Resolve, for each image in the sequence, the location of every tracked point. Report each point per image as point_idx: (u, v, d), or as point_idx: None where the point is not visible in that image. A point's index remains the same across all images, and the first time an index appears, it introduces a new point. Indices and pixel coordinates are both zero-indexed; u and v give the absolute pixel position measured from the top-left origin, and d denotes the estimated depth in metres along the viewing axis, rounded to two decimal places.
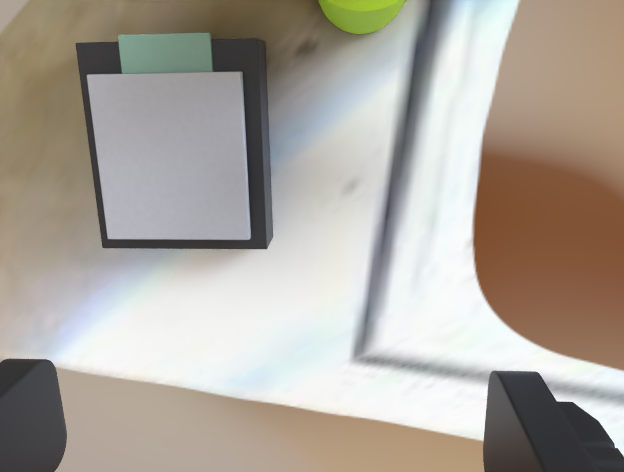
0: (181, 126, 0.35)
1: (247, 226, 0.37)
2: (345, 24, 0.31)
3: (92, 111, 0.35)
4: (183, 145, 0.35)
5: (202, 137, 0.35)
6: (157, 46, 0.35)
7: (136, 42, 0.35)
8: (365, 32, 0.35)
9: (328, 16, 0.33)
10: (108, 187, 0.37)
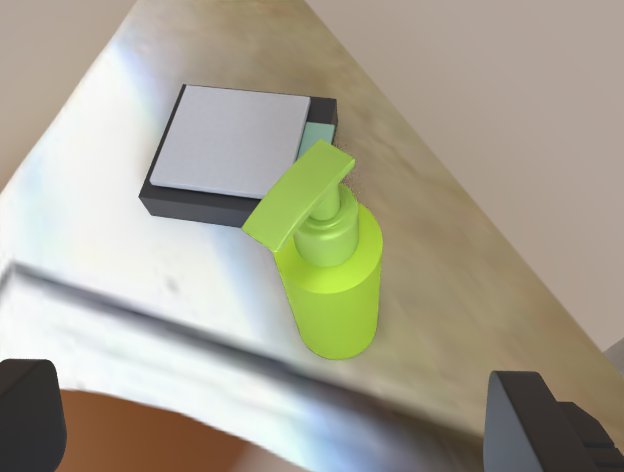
0: (254, 149, 0.43)
1: (160, 180, 0.43)
2: None
3: (283, 94, 0.46)
4: (240, 148, 0.43)
5: (242, 162, 0.43)
6: None
7: (326, 135, 0.44)
8: None
9: None
10: (225, 93, 0.46)
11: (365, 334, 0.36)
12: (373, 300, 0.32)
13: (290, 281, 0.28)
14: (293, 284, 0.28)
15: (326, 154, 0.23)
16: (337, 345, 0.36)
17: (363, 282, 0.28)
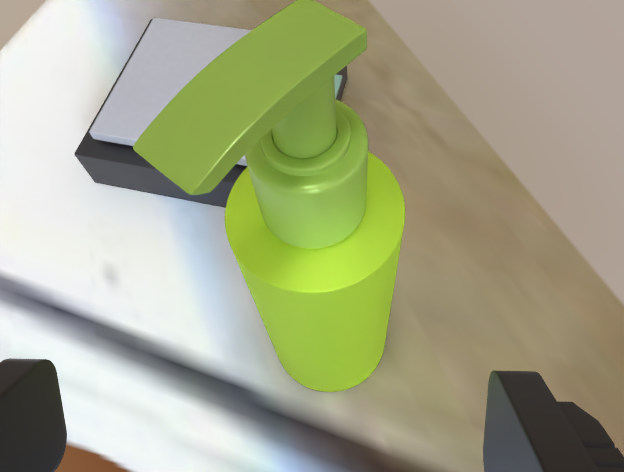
0: None
1: (103, 132, 0.32)
2: None
3: None
4: None
5: None
6: None
7: None
8: None
9: None
10: (201, 29, 0.35)
11: (367, 359, 0.25)
12: (383, 310, 0.21)
13: (248, 269, 0.17)
14: (252, 274, 0.17)
15: (313, 20, 0.12)
16: (325, 373, 0.24)
17: (370, 278, 0.17)
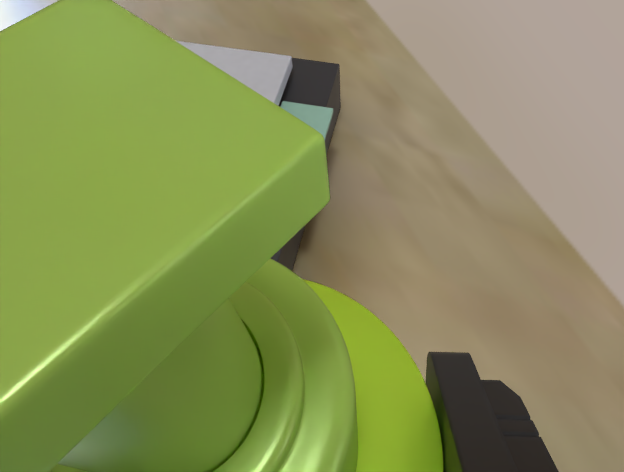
0: None
1: None
2: None
3: (243, 50, 0.25)
4: None
5: None
6: None
7: (316, 126, 0.24)
8: None
9: None
10: None
11: None
12: None
13: None
14: None
15: (84, 94, 0.03)
16: None
17: None
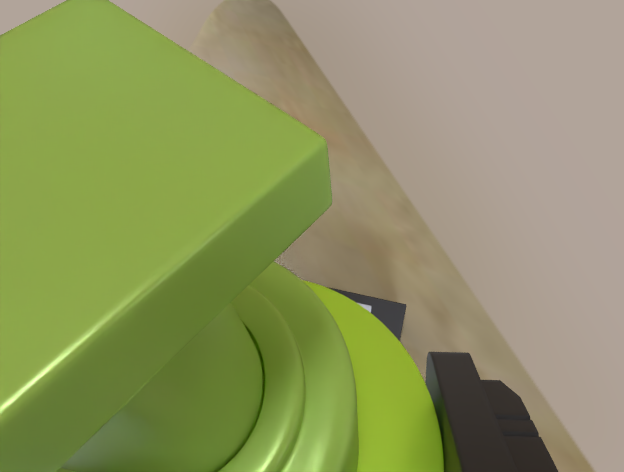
0: None
1: None
2: None
3: None
4: None
5: None
6: None
7: None
8: None
9: None
10: None
11: None
12: None
13: None
14: None
15: (85, 97, 0.03)
16: None
17: None
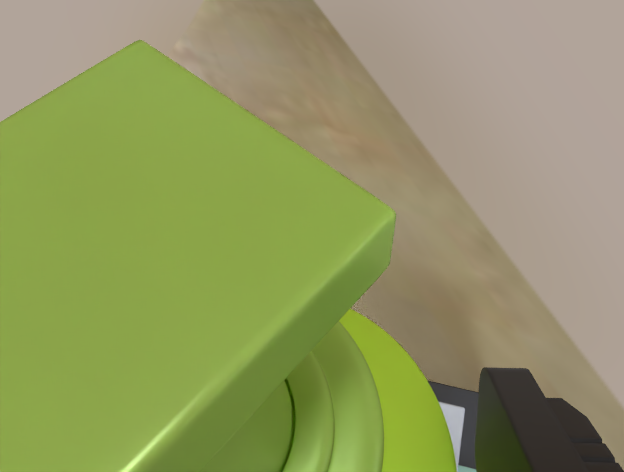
0: None
1: None
2: None
3: None
4: None
5: None
6: None
7: None
8: None
9: None
10: None
11: None
12: None
13: None
14: None
15: (148, 162, 0.03)
16: None
17: None
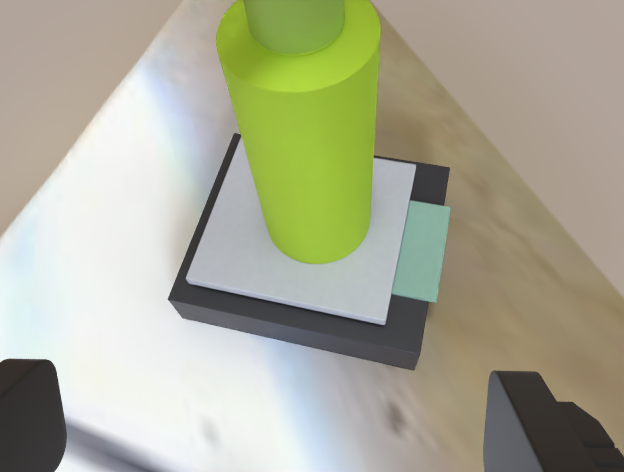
0: None
1: (202, 280, 0.29)
2: None
3: (377, 159, 0.32)
4: None
5: None
6: (431, 242, 0.30)
7: (439, 222, 0.31)
8: None
9: None
10: None
11: (352, 220, 0.27)
12: (364, 148, 0.22)
13: (237, 77, 0.18)
14: (241, 82, 0.18)
15: None
16: (312, 230, 0.26)
17: (348, 84, 0.18)
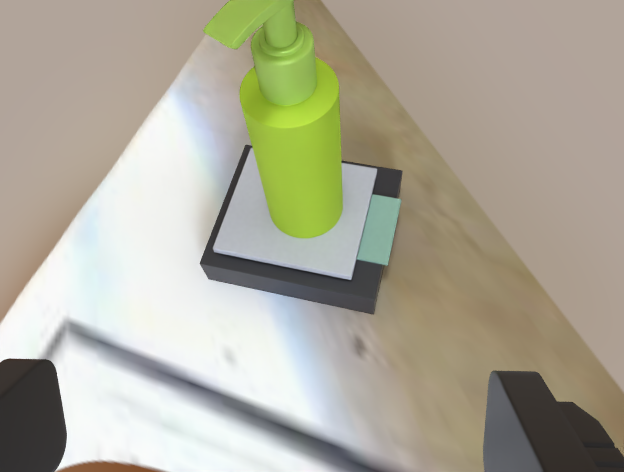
0: None
1: (224, 249, 0.42)
2: None
3: (349, 164, 0.45)
4: None
5: None
6: (386, 223, 0.43)
7: (392, 210, 0.44)
8: None
9: None
10: None
11: (327, 206, 0.39)
12: (332, 159, 0.35)
13: (252, 118, 0.31)
14: (255, 121, 0.31)
15: None
16: (300, 213, 0.39)
17: (318, 122, 0.31)
